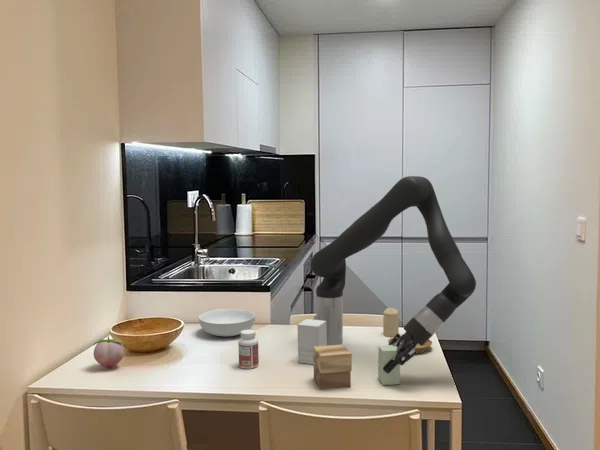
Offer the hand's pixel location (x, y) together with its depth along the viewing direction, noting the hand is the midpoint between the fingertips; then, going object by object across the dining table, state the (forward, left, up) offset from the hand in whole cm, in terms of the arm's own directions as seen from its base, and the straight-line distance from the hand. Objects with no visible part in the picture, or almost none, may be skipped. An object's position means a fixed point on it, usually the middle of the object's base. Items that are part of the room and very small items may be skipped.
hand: (382, 367), depth 175 cm
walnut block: (-12, -9, -5) cm, 15 cm away
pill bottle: (-41, -13, -5) cm, 43 cm away
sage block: (+1, +1, -4) cm, 5 cm away
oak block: (-11, -9, 0) cm, 15 cm away
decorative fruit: (-75, -40, -5) cm, 85 cm away
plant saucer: (-9, +33, -5) cm, 35 cm away
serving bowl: (-72, +9, -5) cm, 72 cm away
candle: (-22, +43, -5) cm, 49 cm away
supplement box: (-28, +3, -5) cm, 28 cm away
